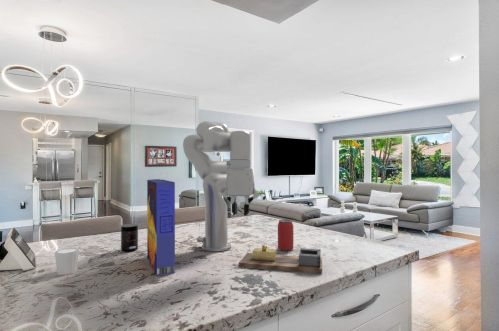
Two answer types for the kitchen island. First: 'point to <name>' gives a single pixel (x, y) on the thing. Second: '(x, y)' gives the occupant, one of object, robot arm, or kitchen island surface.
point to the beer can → (285, 235)
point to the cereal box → (161, 226)
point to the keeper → (310, 257)
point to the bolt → (265, 253)
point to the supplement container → (129, 237)
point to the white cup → (66, 261)
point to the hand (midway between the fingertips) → (240, 214)
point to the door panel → (279, 264)
